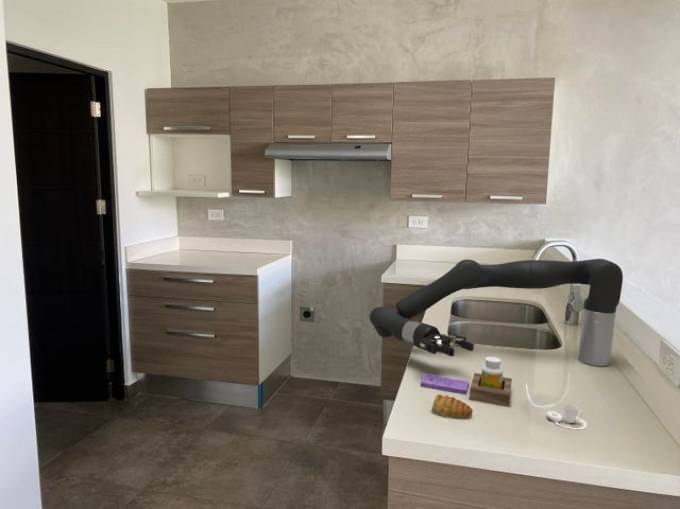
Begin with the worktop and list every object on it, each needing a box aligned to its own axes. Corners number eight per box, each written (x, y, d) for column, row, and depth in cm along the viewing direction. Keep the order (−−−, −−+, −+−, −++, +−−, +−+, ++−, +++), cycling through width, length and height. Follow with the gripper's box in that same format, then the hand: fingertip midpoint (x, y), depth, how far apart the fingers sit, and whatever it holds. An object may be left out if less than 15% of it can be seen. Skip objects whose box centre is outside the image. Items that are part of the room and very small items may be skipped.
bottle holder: (473, 382, 145) (474, 372, 145) (510, 388, 142) (511, 378, 141) (469, 399, 134) (470, 388, 134) (509, 406, 131) (510, 395, 130)
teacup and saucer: (542, 421, 124) (543, 405, 124) (556, 411, 130) (557, 396, 129) (579, 434, 118) (581, 418, 117) (592, 424, 123) (594, 408, 123)
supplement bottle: (476, 394, 138) (479, 359, 136) (484, 388, 142) (487, 354, 140) (496, 400, 134) (499, 364, 133) (503, 393, 139) (506, 359, 137)
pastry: (474, 412, 127) (475, 397, 126) (468, 424, 121) (469, 408, 120) (437, 404, 131) (438, 389, 131) (429, 414, 125) (430, 399, 125)
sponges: (424, 379, 148) (425, 373, 148) (469, 387, 144) (470, 380, 143) (419, 388, 141) (420, 381, 141) (466, 396, 137) (466, 389, 137)
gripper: (404, 326, 151) (448, 341, 139) (436, 319, 160) (480, 333, 148) (403, 350, 152) (446, 367, 140) (435, 343, 161) (478, 358, 149)
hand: (463, 350), depth 144 cm, fingers open, 8 cm apart
